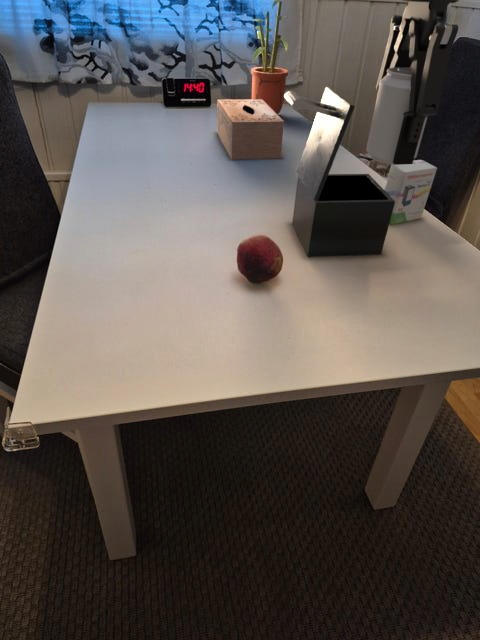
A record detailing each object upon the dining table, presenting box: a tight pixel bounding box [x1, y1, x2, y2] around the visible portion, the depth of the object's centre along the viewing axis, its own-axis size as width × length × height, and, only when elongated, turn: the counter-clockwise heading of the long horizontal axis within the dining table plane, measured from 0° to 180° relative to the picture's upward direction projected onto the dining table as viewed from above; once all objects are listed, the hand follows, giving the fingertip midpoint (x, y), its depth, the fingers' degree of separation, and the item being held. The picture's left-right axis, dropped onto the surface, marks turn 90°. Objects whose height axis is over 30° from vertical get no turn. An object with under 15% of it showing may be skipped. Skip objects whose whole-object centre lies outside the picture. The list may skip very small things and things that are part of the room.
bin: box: [291, 173, 395, 258], centre depth 87 cm, size 15×14×11 cm
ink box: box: [384, 159, 438, 225], centre depth 95 cm, size 9×5×12 cm, turn 114°
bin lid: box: [284, 86, 356, 201], centre depth 77 cm, size 16×14×9 cm
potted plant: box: [250, 0, 289, 115], centre depth 154 cm, size 17×16×35 cm
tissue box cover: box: [216, 98, 285, 161], centre depth 133 cm, size 26×14×10 cm, turn 11°
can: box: [365, 67, 428, 166], centre depth 64 cm, size 8×8×12 cm
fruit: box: [236, 234, 284, 285], centre depth 74 cm, size 8×8×8 cm
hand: (390, 154), depth 68 cm, fingers closed on can, 7 cm apart
